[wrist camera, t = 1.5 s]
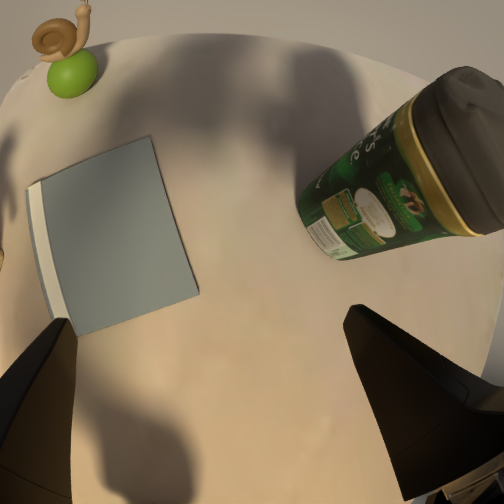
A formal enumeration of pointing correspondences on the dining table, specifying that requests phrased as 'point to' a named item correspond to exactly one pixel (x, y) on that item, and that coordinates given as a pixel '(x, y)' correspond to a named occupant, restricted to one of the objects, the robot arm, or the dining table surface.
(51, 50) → the snail figurine
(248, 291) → the dining table surface
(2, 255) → the grandmother figurine
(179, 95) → the dining table surface
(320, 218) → the coffee jar
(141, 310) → the mat
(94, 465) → the dining table surface
